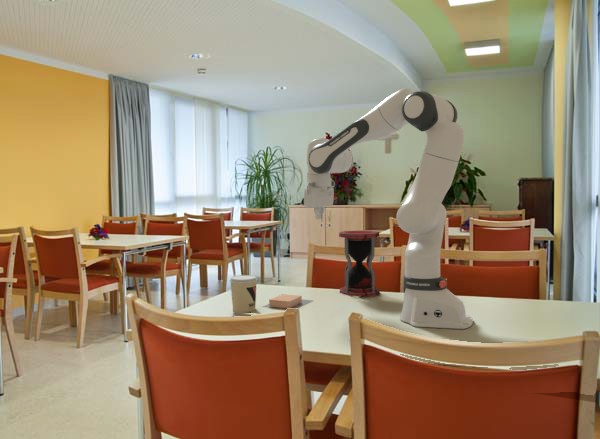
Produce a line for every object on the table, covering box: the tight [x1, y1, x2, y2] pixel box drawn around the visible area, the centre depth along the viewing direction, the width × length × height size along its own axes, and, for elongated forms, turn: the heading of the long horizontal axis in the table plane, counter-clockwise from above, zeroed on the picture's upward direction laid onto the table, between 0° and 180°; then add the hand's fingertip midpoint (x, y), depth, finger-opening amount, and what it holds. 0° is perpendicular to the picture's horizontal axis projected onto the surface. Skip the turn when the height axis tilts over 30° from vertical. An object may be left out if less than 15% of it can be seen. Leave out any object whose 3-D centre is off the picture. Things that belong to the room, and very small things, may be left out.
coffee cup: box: [229, 274, 258, 315], centre depth 180 cm, size 9×9×12 cm
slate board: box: [262, 299, 314, 310], centre depth 187 cm, size 13×16×1 cm
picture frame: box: [268, 293, 303, 308], centre depth 185 cm, size 8×3×10 cm
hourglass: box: [338, 230, 381, 298], centre depth 205 cm, size 16×16×25 cm
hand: (319, 219), depth 194 cm, fingers closed
